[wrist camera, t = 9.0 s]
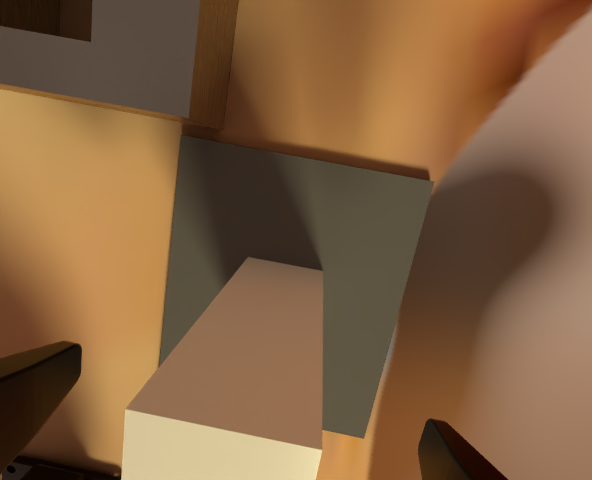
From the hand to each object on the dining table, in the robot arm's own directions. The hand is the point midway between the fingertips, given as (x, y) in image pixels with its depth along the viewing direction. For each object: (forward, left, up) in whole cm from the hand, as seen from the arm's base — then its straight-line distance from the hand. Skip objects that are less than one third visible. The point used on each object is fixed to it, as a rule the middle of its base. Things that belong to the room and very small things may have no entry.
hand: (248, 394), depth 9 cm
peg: (0, 0, -6) cm, 6 cm away
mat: (0, 0, -6) cm, 6 cm away
